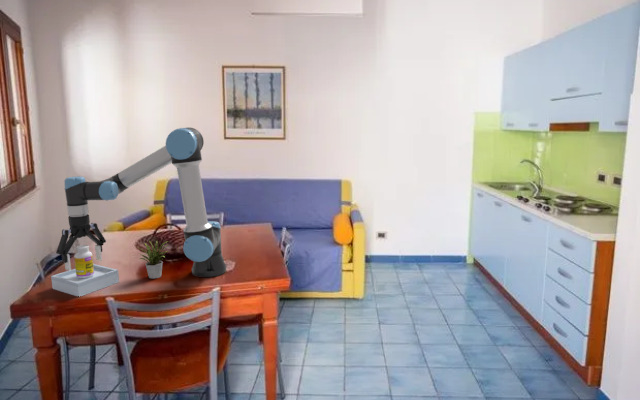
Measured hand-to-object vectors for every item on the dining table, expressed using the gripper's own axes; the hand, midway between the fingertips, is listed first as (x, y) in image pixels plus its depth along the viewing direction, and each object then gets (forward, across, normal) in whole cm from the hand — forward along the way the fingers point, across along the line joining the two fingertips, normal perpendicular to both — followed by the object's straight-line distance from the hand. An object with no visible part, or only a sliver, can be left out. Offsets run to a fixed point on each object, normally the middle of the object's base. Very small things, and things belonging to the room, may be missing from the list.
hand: (84, 264), depth 189 cm
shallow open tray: (+9, 0, 0) cm, 9 cm away
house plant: (+9, -22, +18) cm, 30 cm away
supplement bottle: (+5, 0, 0) cm, 5 cm away
